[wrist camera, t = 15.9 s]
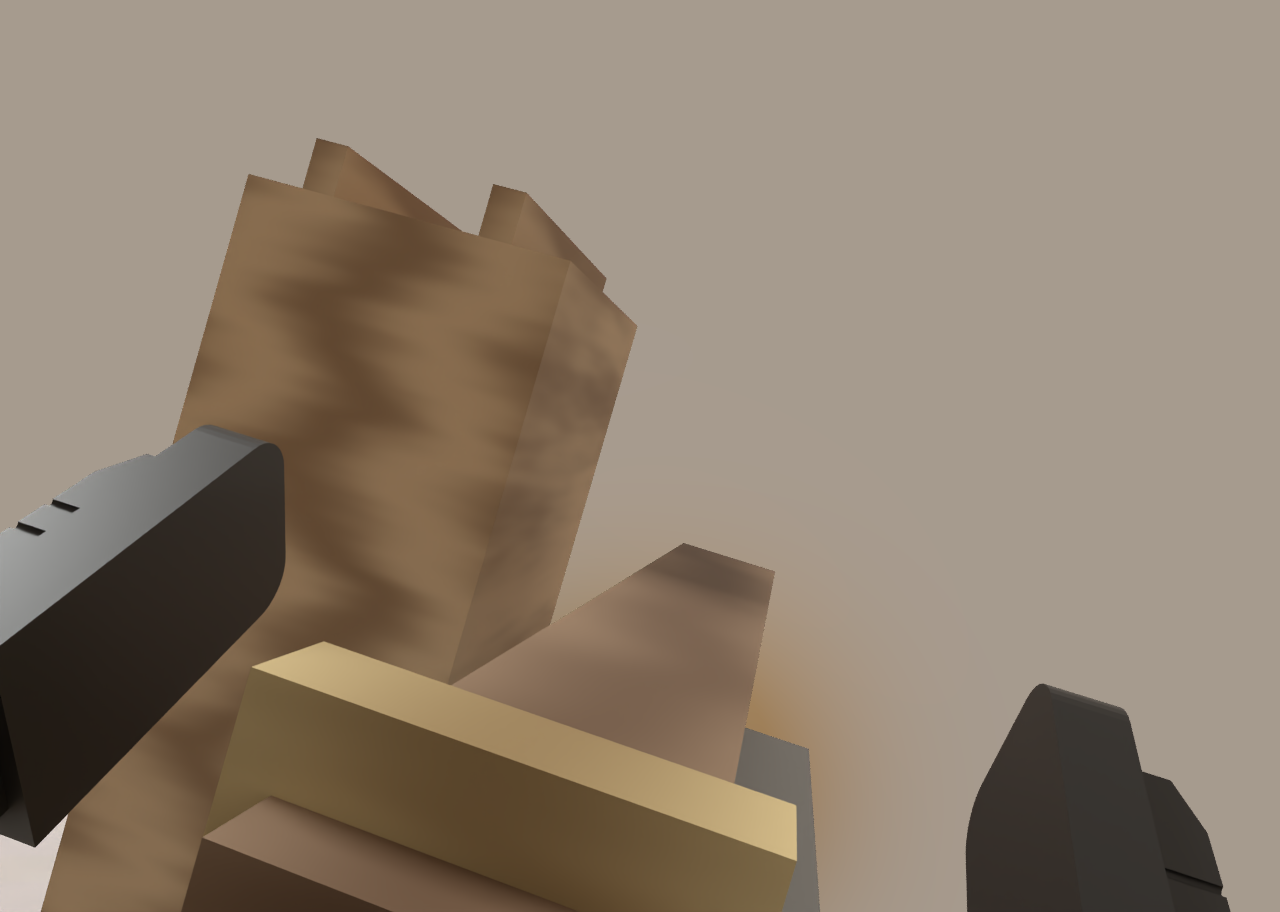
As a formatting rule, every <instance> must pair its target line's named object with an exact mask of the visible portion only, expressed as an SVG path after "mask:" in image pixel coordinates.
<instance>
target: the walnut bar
mask: <svg viewBox="0 0 1280 912" xmlns="http://www.w3.org/2000/svg"><path fill="white" fill-rule="evenodd" d="M774 574H775V572H774V571H772V570H769V569H765V568H762V567H759V566H756V565H752V564H749V563H746V562H743V561H739V560H736V559H733V558H730V557H727V556H723V555H720V554H717V553H714V552H710V551H707V550H704V549H701V548H698V547H694V546H691V545H688V544H685V543H683V544H682V545H680V546H678V547H677V548H675V549H673V550H672V551H670V552H668V553H667V554H665V555H664V556H662V557H660V558H659V559H657V560H655V561H654V562H652V563H650V564H649V565H647V566H646V567H644V568H642V569H641V570H639V571H637V572H636V573H634V574H632V575H631V576H629V577H627V578H626V579H624V580H623V581H621V582H619V583H618V584H616V585H614V586H613V587H611V588H609V589H608V590H606V591H605V592H603V593H601V594H600V595H598V596H596V597H595V598H593V599H592V600H590V601H588V602H587V603H585V604H583V605H582V606H580V607H578V608H577V609H575V610H574V611H572V612H570V613H569V614H567V615H565V616H564V617H562V618H560V619H559V620H557V621H556V622H554V623H552V624H551V625H549V626H547V627H546V628H544V629H542V630H541V631H539V632H538V633H536V634H534V635H533V636H531V637H529V638H528V639H526V640H524V641H523V642H521V643H520V644H518V645H516V646H515V647H513V648H511V649H510V650H508V651H506V652H505V653H503V654H502V655H500V656H498V657H497V658H495V659H493V660H492V661H490V662H488V663H487V664H485V665H484V666H482V667H480V668H479V669H477V670H475V671H474V672H472V673H470V674H469V675H467V676H466V677H464V678H462V679H461V680H459V681H457V682H456V683H454V684H452V685H448V684H445V683H442V682H439V681H437V680H434V679H431V678H428V677H425V676H422V675H419V674H416V673H414V672H411V671H408V670H405V669H402V668H399V667H396V666H393V665H390V664H388V663H385V662H382V661H379V660H376V659H373V658H370V657H367V656H365V655H362V654H359V653H356V652H353V651H350V650H347V649H344V648H341V647H339V646H336V645H333V644H330V643H327V642H324V641H323V642H321V643H318V644H315V645H312V646H309V647H306V648H304V649H301V650H298V651H295V652H292V653H289V654H286V655H284V656H281V657H278V658H275V659H272V660H269V661H267V662H264V663H261V664H258V665H255V666H252V667H251V670H250V673H249V677H248V680H247V684H246V687H245V691H244V694H243V698H242V701H241V705H240V708H239V712H238V715H237V719H236V722H235V726H234V729H233V733H232V736H231V740H230V743H229V747H228V750H227V754H226V757H225V761H224V764H223V768H222V771H221V775H220V778H219V782H218V785H217V789H216V792H215V796H214V799H213V803H212V806H211V810H210V813H209V817H208V820H207V824H206V827H205V831H204V834H203V837H202V840H201V843H200V847H199V850H198V854H197V857H196V861H195V864H194V868H193V871H192V875H191V878H190V882H189V885H188V889H187V892H186V896H185V899H184V903H183V906H182V910H181V912H782V909H783V906H784V902H785V899H786V896H787V892H788V889H789V886H790V882H791V879H792V876H793V872H794V869H795V866H796V862H797V817H796V805H794V804H791V803H788V802H785V801H782V800H780V799H777V798H774V797H771V796H768V795H765V794H762V793H759V792H757V791H754V790H751V789H748V788H745V787H742V786H739V785H736V784H734V783H735V777H736V772H737V767H738V762H739V757H740V751H741V746H742V741H743V736H744V730H745V725H746V720H747V715H748V709H749V704H750V699H751V694H752V688H753V683H754V677H755V673H756V668H757V663H758V657H759V652H760V647H761V642H762V636H763V631H764V626H765V620H766V615H767V610H768V605H769V600H770V595H771V589H772V584H773V579H774Z"/></svg>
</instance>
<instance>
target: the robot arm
mask: <svg viewBox="0 0 1280 912" xmlns="http://www.w3.org/2000/svg"><path fill="white" fill-rule="evenodd" d="M285 561H286V543H285V482H284V459H283V455H282V453H281V450H280V449H279V448H278V446H276V445H275V444H273V443H269V442H266V441H263V440H260V439H256V438H253V437H250V436H247V435H244V434H240V433H237V432H234V431H231V430H227V429H224V428H221V427H218V426H214V425H203V426H200V427H198V428H196V429H195V430H193V431H192V432H190V433H189V434H187V435H186V436H184V437H183V438H181V439H180V440H179V441H177V442H176V443H174V444H173V445H171V446H170V447H168V448H167V449H165V450H164V451H162V452H161V453H160V454H158V455H157V456H152V455H149V454H146V455H143V456H140V457H137V458H134V459H131V460H128V461H125V462H122V463H119V464H116V465H113V466H110V467H107V468H104V469H101V470H98V471H95V472H93V473H92V474H90V475H89V476H87V477H85V478H84V479H82V480H81V481H79V482H78V483H76V484H75V485H73V486H72V487H70V488H69V489H67V490H66V491H64V492H63V493H61V494H59V495H58V496H56V497H55V498H53V502H52V504H51V505H50V506H47V505H45V504H44V505H43V506H41V507H40V508H38V509H37V510H35V511H33V512H32V513H31V514H29V515H28V516H26V517H24V518H23V519H21V520H20V521H18V525H17V527H16V528H15V529H13V528H10V527H9V528H7V529H6V530H4V531H3V532H1V533H0V834H1V835H4V836H6V837H9V838H12V839H14V840H17V841H19V842H22V843H25V844H27V845H30V846H32V847H36V846H37V845H38V844H39V843H40V842H41V841H42V840H43V839H44V838H45V837H46V836H47V835H48V834H49V833H50V832H51V831H52V830H53V829H54V828H55V827H56V826H57V825H58V824H59V823H60V822H61V820H62V819H63V818H64V817H65V816H66V815H67V814H68V813H69V812H70V811H71V810H72V809H73V808H74V807H75V806H76V805H77V804H78V803H79V802H80V801H81V800H82V799H83V798H84V797H85V796H86V795H87V794H88V793H89V792H90V791H91V790H92V789H93V788H94V787H95V786H96V785H97V784H98V783H99V782H100V780H101V779H102V778H103V777H104V776H105V775H106V774H107V773H108V772H109V771H110V770H111V769H112V768H113V767H114V766H115V765H116V764H117V763H118V762H119V761H120V760H121V759H122V758H123V757H124V756H125V755H126V754H127V753H128V752H129V751H130V750H131V749H132V748H133V747H134V746H135V745H136V744H137V743H138V742H139V741H140V739H141V738H142V737H143V736H144V735H145V734H146V733H147V732H148V731H149V730H150V729H151V728H152V727H153V726H154V725H155V724H156V723H157V722H158V721H159V720H160V719H161V718H162V717H163V716H164V715H165V714H166V713H167V712H168V711H169V710H170V709H171V708H172V707H173V706H174V705H175V704H176V703H177V702H178V701H179V699H180V698H181V697H182V696H183V695H184V694H185V693H186V692H187V691H188V690H189V689H190V688H191V687H192V686H193V685H194V684H195V683H196V682H197V681H198V680H199V679H200V678H201V677H202V676H203V675H204V674H205V673H206V672H207V671H208V670H209V669H210V668H211V667H212V666H213V665H214V664H215V663H216V662H217V661H218V660H219V658H220V657H221V656H222V655H223V654H224V653H225V652H226V651H227V650H228V649H229V648H230V647H231V646H232V645H233V644H234V643H235V642H236V641H237V640H238V639H239V638H240V637H241V636H242V635H243V634H244V633H245V632H246V631H247V630H248V629H249V628H250V627H251V626H252V625H253V624H254V623H255V622H256V621H257V620H258V619H259V617H260V616H261V615H262V614H263V613H264V612H265V611H266V609H267V608H268V607H269V605H270V604H271V602H272V600H273V599H274V597H275V595H276V593H277V591H278V588H279V586H280V583H281V580H282V577H283V573H284V568H285ZM966 875H967V876H966V878H967V879H966V880H967V912H1230V909H1229V905H1228V902H1227V898H1226V897H1223V896H1222V895H1221V891H1222V888H1223V884H1222V881H1221V878H1220V874H1219V871H1218V867H1217V864H1216V861H1215V857H1214V854H1213V851H1212V847H1211V844H1210V840H1209V837H1208V834H1207V832H1206V830H1205V829H1204V828H1203V826H1202V825H1201V823H1200V822H1199V820H1198V819H1197V818H1196V816H1195V815H1194V814H1193V812H1192V810H1191V809H1190V808H1189V806H1188V805H1187V803H1186V802H1185V801H1184V799H1183V798H1182V796H1181V795H1180V793H1179V792H1178V790H1177V789H1176V787H1175V786H1174V785H1173V783H1172V782H1171V781H1170V780H1167V779H1164V778H1161V777H1157V776H1154V775H1151V774H1148V773H1145V772H1142V770H1141V766H1140V762H1139V757H1138V753H1137V749H1136V745H1135V740H1134V736H1133V732H1132V728H1131V724H1130V721H1129V717H1128V715H1127V713H1126V712H1125V711H1124V710H1123V709H1122V708H1120V707H1117V706H1114V705H1110V704H1107V703H1104V702H1101V701H1098V700H1094V699H1091V698H1088V697H1085V696H1081V695H1078V694H1075V693H1071V692H1068V691H1065V690H1062V689H1059V688H1056V687H1052V686H1049V685H1046V684H1039V685H1038V686H1036V687H1035V688H1034V689H1033V690H1032V692H1031V693H1030V694H1029V696H1028V698H1027V699H1026V701H1025V703H1024V705H1023V707H1022V709H1021V711H1020V713H1019V715H1018V717H1017V719H1016V720H1015V722H1014V724H1013V726H1012V728H1011V730H1010V732H1009V734H1008V736H1007V738H1006V740H1005V741H1004V743H1003V745H1002V747H1001V749H1000V751H999V753H998V755H997V757H996V758H995V761H994V762H993V764H992V766H991V768H990V770H989V772H988V774H987V776H986V778H985V779H984V782H983V783H982V785H981V787H980V789H979V792H978V794H977V797H976V800H975V802H974V806H973V809H972V813H971V817H970V821H969V826H968V833H967V840H966Z"/></svg>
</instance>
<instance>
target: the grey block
mask: <svg viewBox="0 0 1280 912" xmlns="http://www.w3.org/2000/svg"><path fill="white" fill-rule="evenodd" d="M734 784H736V785H739V786H742V787H745V788H748V789H751V790H754V791H757V792H759V793H762V794H765V795H768V796H771V797H774V798H777V799H780V800H782V801H785V802H788V803H791V804H794V805H796V817H797V862H796V866H795V869H794V872H793V876H792V879H791V882H790V886H789V889H788V892H787V896H786V899H785V902H784V906H783V909H782V912H820V905H819V890H818V877H817V862H816V848H815V833H814V818H813V805H812V790H811V776H810V761H809V749H807V748H804V747H801V746H798V745H795V744H792V743H789V742H786V741H783V740H780V739H777V738H774V737H772V736H768V735H765V734H763V733H760V732H757V731H754V730H750V729H748V728H745V730H744V736H743V741H742V746H741V751H740V757H739V762H738V767H737V772H736V777H735V783H734Z"/></svg>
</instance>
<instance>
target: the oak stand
mask: <svg viewBox="0 0 1280 912" xmlns="http://www.w3.org/2000/svg"><path fill="white" fill-rule="evenodd" d="M605 282H606V277H605V276H604V275H603V274H602V273H601V272H600V271H599V270H598V269H597V268H596V267H595V266H594V265H593V263H591V261H590V260H589V259H588V258H587V257H586V256H585V255H584V254H583V253H582V252H581V251H580V250H579V249H578V247H577V246H576V245H575V244H574V243H573V242H572V241H571V240H570V239H569V238H568V237H567V236H566V235H565V233H564V232H563V231H561V229H560V228H559V227H558V226H557V225H556V224H555V223H554V222H553V221H552V219H550V217H549V216H548V215H547V214H546V213H545V212H544V211H543V210H542V209H541V208H540V207H539V206H538V204H537V203H536V202H535V201H533V199H532V198H531V197H530V196H529V195H528V194H527V193H526V192H522V191H518V190H514V189H510V188H506V187H502V186H499V185H495V184H493V187H492V191H491V194H490V198H489V201H488V205H487V208H486V212H485V215H484V218H483V222H482V226H481V229H480V232H479V236H477V235H473V234H469V233H466V232H462V231H461V230H459V229H458V228H457V227H456V226H454V225H453V224H451V223H450V222H449V221H448V220H446V219H445V218H444V217H442V216H441V215H440V214H438V213H437V212H435V211H434V210H433V209H431V208H430V207H429V206H428V205H426V204H425V203H423V202H422V201H421V200H419V199H418V198H417V197H415V196H414V195H413V194H411V193H410V192H409V191H407V190H406V189H405V188H403V187H402V186H401V185H399V184H398V183H396V182H395V181H394V180H393V179H391V178H390V177H389V176H387V175H386V174H385V173H383V172H382V171H381V170H379V169H378V168H376V167H375V166H374V165H372V164H371V163H370V162H368V161H367V160H366V159H364V158H363V157H362V156H360V155H359V154H358V153H356V152H355V151H354V150H352V149H351V148H350V147H348V146H345V145H341V144H337V143H333V142H329V141H326V140H321V139H318V138H317V139H316V143H315V147H314V150H313V153H312V157H311V161H310V164H309V168H308V171H307V175H306V178H305V182H304V185H303V188H298V187H295V186H291V185H288V184H283V183H280V182H277V181H273V180H269V179H265V178H262V177H258V176H254V175H251V174H249V175H248V179H247V182H246V185H245V189H244V193H243V196H242V200H241V203H240V207H239V210H238V214H237V217H236V221H235V224H234V228H233V232H232V235H231V239H230V242H229V246H228V249H227V253H226V256H225V260H224V263H223V267H222V271H221V274H220V278H219V281H218V285H217V288H216V292H215V295H214V299H213V302H212V306H211V310H210V314H209V317H208V321H207V324H206V328H205V332H204V334H203V338H202V342H201V345H200V349H199V353H198V356H197V359H196V363H195V366H194V370H193V374H192V377H191V381H190V385H189V388H188V391H187V395H186V398H185V402H184V406H183V409H182V413H181V416H180V420H179V424H178V427H177V430H176V434H175V438H174V441H173V444H174V443H176V442H177V441H179V440H180V439H181V438H183V437H184V436H186V435H187V434H189V433H190V432H192V431H193V430H195V429H196V428H198V427H200V426H203V425H214V426H218V427H221V428H224V429H227V430H231V431H234V432H237V433H240V434H244V435H247V436H250V437H253V438H256V439H260V440H263V441H266V442H269V443H273V444H275V445H276V446H278V448H279V449H280V450H281V453H282V455H283V459H284V482H285V543H286V561H285V568H284V573H283V577H282V580H281V583H280V586H279V588H278V591H277V593H276V595H275V597H274V599H273V600H272V602H271V604H270V605H269V607H268V608H267V609H266V611H265V612H264V613H263V614H262V615H261V616H260V617H259V619H258V620H257V621H256V622H255V623H254V624H253V625H252V626H251V627H250V628H249V629H248V630H247V631H246V632H245V633H244V634H243V635H242V636H241V637H240V638H239V639H238V640H237V641H236V642H235V643H234V644H233V645H232V646H231V647H230V648H229V649H228V650H227V651H226V652H225V653H224V654H223V655H222V656H221V657H220V658H219V660H218V661H217V662H216V663H215V664H214V665H213V666H212V667H211V668H210V669H209V670H208V671H207V672H206V673H205V674H204V675H203V676H202V677H201V678H200V679H199V680H198V681H197V682H196V683H195V684H194V685H193V686H192V687H191V688H190V689H189V690H188V691H187V692H186V693H185V694H184V695H183V696H182V697H181V698H180V699H179V701H178V702H177V703H176V704H175V705H174V706H173V707H172V708H171V709H170V710H169V711H168V712H167V713H166V714H165V715H164V716H163V717H162V718H161V719H160V720H159V721H158V722H157V723H156V724H155V725H154V726H153V727H152V728H151V729H150V730H149V731H148V732H147V733H146V734H145V735H144V736H143V737H142V738H141V739H140V741H139V742H138V743H137V744H136V745H135V746H134V747H133V748H132V749H131V750H130V751H129V752H128V753H127V754H126V755H125V756H124V757H123V758H122V759H121V760H120V761H119V762H118V763H117V764H116V765H115V766H114V767H113V768H112V769H111V770H110V771H109V772H108V773H107V774H106V775H105V776H104V777H103V778H102V779H101V780H100V782H99V783H98V784H97V785H96V786H95V787H94V788H93V789H92V790H91V791H90V792H89V793H88V794H87V795H86V796H85V797H84V798H83V799H82V800H81V801H80V802H79V803H78V804H77V805H76V806H75V807H74V808H73V809H72V810H71V811H70V812H69V814H68V817H67V821H66V824H65V828H64V831H63V835H62V839H61V842H60V846H59V849H58V853H57V856H56V860H55V863H54V867H53V870H52V874H51V878H50V881H49V885H48V888H47V892H46V895H45V899H44V902H43V906H42V910H41V912H181V910H182V906H183V903H184V899H185V896H186V892H187V889H188V885H189V882H190V878H191V875H192V871H193V868H194V864H195V861H196V857H197V854H198V850H199V847H200V843H201V840H202V837H203V834H204V831H205V827H206V824H207V820H208V817H209V813H210V810H211V806H212V803H213V799H214V796H215V792H216V789H217V785H218V782H219V778H220V775H221V771H222V768H223V764H224V761H225V757H226V754H227V750H228V747H229V743H230V740H231V736H232V733H233V729H234V726H235V722H236V719H237V715H238V712H239V708H240V705H241V701H242V698H243V694H244V691H245V687H246V684H247V680H248V677H249V673H250V670H251V667H252V666H255V665H258V664H261V663H264V662H267V661H269V660H272V659H275V658H278V657H281V656H284V655H286V654H289V653H292V652H295V651H298V650H301V649H304V648H306V647H309V646H312V645H315V644H318V643H321V642H323V641H324V642H327V643H330V644H333V645H336V646H339V647H341V648H344V649H347V650H350V651H353V652H356V653H359V654H362V655H365V656H367V657H370V658H373V659H376V660H379V661H382V662H385V663H388V664H390V665H393V666H396V667H399V668H402V669H405V670H408V671H411V672H414V673H416V674H419V675H422V676H425V677H428V678H431V679H434V680H437V681H439V682H442V683H445V684H448V685H452V684H454V683H456V682H457V681H459V680H461V679H462V678H464V677H466V676H467V675H469V674H470V673H472V672H474V671H475V670H477V669H479V668H480V667H482V666H484V665H485V664H487V663H488V662H490V661H492V660H493V659H495V658H497V657H498V656H500V655H502V654H503V653H505V652H506V651H508V650H510V649H511V648H513V647H515V646H516V645H518V644H520V643H521V642H523V641H524V640H526V639H528V638H529V637H531V636H533V635H534V634H536V633H538V632H539V631H541V630H542V629H544V628H546V627H547V626H549V625H550V623H551V619H552V616H553V612H554V609H555V606H556V602H557V599H558V595H559V592H560V589H561V585H562V582H563V578H564V575H565V571H566V568H567V564H568V561H569V558H570V554H571V551H572V547H573V544H574V541H575V537H576V534H577V531H578V527H579V524H580V520H581V516H582V513H583V509H584V507H585V503H586V500H587V496H588V493H589V489H590V486H591V483H592V479H593V476H594V472H595V469H596V466H597V462H598V459H599V455H600V452H601V449H602V445H603V442H604V438H605V435H606V431H607V428H608V425H609V421H610V418H611V414H612V411H613V407H614V404H615V400H616V397H617V394H618V391H619V387H620V384H621V380H622V377H623V373H624V370H625V367H626V363H627V360H628V356H629V353H630V350H631V346H632V342H633V339H634V336H635V332H636V329H637V325H636V324H635V323H634V322H633V321H632V320H631V319H630V318H629V317H627V315H625V314H624V313H623V312H622V311H621V310H620V309H619V308H618V307H617V306H616V305H615V304H614V303H613V302H612V301H611V300H610V299H609V298H608V297H607V296H606V295H605V294H604V293H603V288H604V285H605Z"/></svg>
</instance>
